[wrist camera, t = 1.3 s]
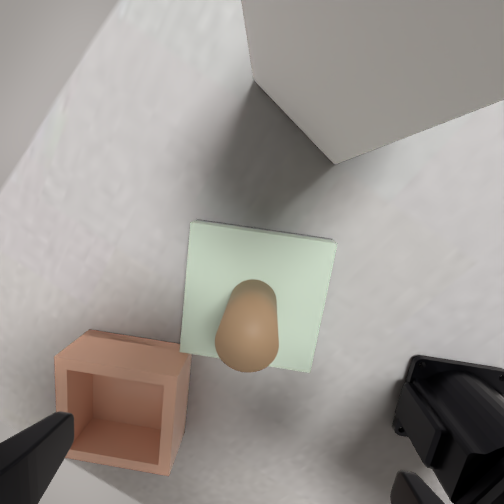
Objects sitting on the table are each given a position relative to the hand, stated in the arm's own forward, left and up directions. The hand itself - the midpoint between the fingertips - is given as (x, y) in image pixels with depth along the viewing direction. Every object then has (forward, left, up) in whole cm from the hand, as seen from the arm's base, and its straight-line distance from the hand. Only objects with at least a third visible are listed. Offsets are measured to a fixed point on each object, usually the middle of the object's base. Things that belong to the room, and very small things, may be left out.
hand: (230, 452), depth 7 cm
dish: (+8, +9, -12) cm, 17 cm away
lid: (0, 0, -12) cm, 12 cm away
